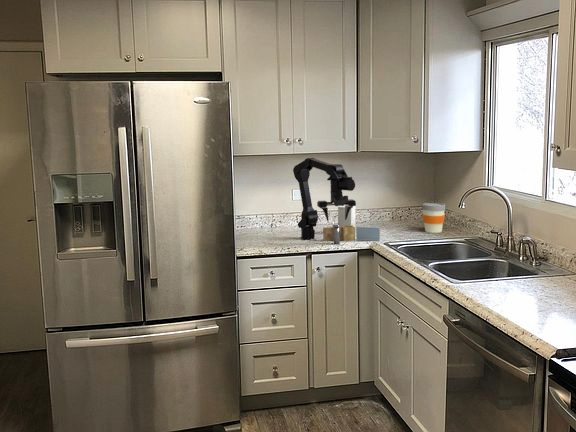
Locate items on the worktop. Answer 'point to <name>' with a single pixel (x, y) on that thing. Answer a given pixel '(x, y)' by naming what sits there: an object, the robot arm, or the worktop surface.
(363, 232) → the swing leaf
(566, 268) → the worktop surface
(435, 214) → the reusable coffee cup
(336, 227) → the hinge pin
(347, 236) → the knuckle leaf
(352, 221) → the skincare box
